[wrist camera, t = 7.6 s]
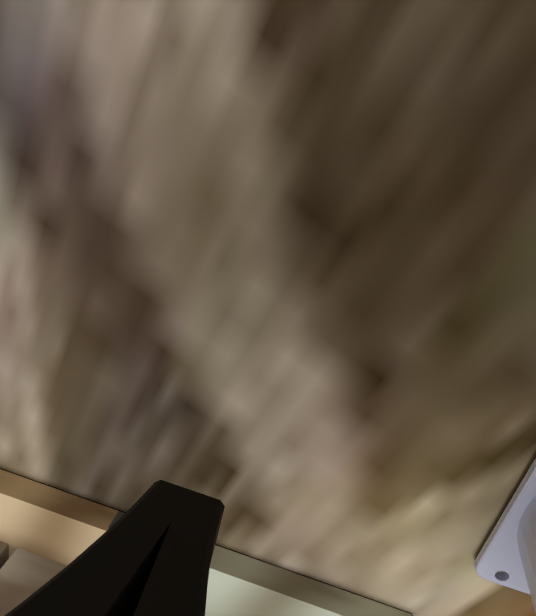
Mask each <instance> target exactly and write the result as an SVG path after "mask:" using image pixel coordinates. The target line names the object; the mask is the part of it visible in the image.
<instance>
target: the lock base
mask: <svg viewBox="0 0 536 616" xmlns="http://www.w3.org/2000/svg"><path fill="white" fill-rule="evenodd" d="M124 514H125V513H123V512H120V511H117V510H115V509H112V508H109V507H106V506H103V505H100V504H98V503H95V502H92V501H89V500H86V499H83V498H81V497H78V496H75V495H72V494H69V493H66V492H64V491H61V490H58V489H55V488H52V487H49V486H47V485H44V484H41V483H38V482H35V481H32V480H30V479H27V478H24V477H21V476H18V475H15V474H13V473H10V472H7V471H4V470H1V469H0V616H5V615H6V614H7V613H9V612H10V611H11V610H13V609H14V608H15V607H17V606H18V605H19V604H20V603H22V602H23V601H24V600H25V599H27V598H28V597H29V596H30V595H32V594H33V593H34V592H35V591H37V590H38V589H39V588H40V587H42V586H43V585H44V584H45V583H47V582H48V581H49V580H50V579H52V578H53V577H54V576H55V575H57V574H58V573H59V572H60V571H62V570H63V569H64V568H65V567H66V566H68V565H69V564H70V563H71V562H72V561H73V560H75V559H76V558H77V557H78V556H79V555H80V554H81V553H82V552H84V551H85V550H86V549H87V548H88V547H89V546H90V545H91V544H93V543H94V542H95V541H96V540H97V539H98V538H99V537H100V536H102V535H103V534H104V533H105V532H106V531H107V530H108V529H109V528H110V527H111V526H112V525H113V524H114V523H116V522H117V521H118V520H119V519H120V518H121V517H122V516H123V515H124ZM205 616H412V614H409V613H406V612H404V611H401V610H398V609H395V608H392V607H389V606H387V605H384V604H381V603H378V602H375V601H372V600H370V599H367V598H364V597H361V596H358V595H355V594H353V593H350V592H347V591H344V590H341V589H338V588H336V587H333V586H330V585H327V584H324V583H321V582H319V581H316V580H313V579H310V578H307V577H304V576H302V575H299V574H296V573H293V572H290V571H287V570H285V569H282V568H279V567H276V566H273V565H270V564H268V563H265V562H262V561H259V560H256V559H253V558H251V557H248V556H245V555H242V554H239V553H236V552H234V551H231V550H228V549H225V548H222V547H219V546H217V545H215V547H214V551H213V555H212V559H211V563H210V569H209V578H208V586H207V598H206V610H205Z"/></svg>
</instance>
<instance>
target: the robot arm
mask: <svg viewBox="0 0 536 616" xmlns="http://www.w3.org/2000/svg"><path fill="white" fill-rule="evenodd" d="M224 507H225V506H224V505H223V503H222V502H221V500H218V499H215V498H212V497H209V496H207V495H204V494H201V493H198V492H195V491H192V490H189V489H186V488H183V487H180V486H177V485H174V484H172V483H169V482H166V481H163V480H159V481H157V482H155V483H154V484H153V485H152V486H151V487H150V488H149V489H148V490H147V491H146V493H145V494H144V495H143V496H142V497H141V498H140V499H139V500H138V501H137V502H136V503H135V504H134V505H133V506H132V507H131V508H130V509H129V510H128V511H127V512H126V513H125V514H124V515H123V516H122V517H121V518H120V519H119V520H118V521H117V522H116V523H114V524H113V525H112V526H111V527H110V528H109V529H108V530H107V531H106V532H105V533H104V534H103V535H102V536H100V537H99V538H98V539H97V540H96V541H95V542H94V543H93V544H91V545H90V546H89V547H88V548H87V549H86V550H85V551H84V552H82V553H81V554H80V555H79V556H78V557H77V558H76V559H75V560H73V561H72V562H71V563H70V564H69V565H68V566H66V567H65V568H64V569H63V570H62V571H60V572H59V573H58V574H57V575H55V576H54V577H53V578H52V579H50V580H49V581H48V582H47V583H45V584H44V585H43V586H42V587H40V588H39V589H38V590H37V591H35V592H34V593H33V594H32V595H30V596H29V597H28V598H27V599H25V600H24V601H23V602H22V603H20V604H19V605H18V606H17V607H15V608H14V609H13V610H11V611H10V612H9V613H7V614H6V615H5V616H205V610H206V598H207V586H208V578H209V569H210V563H211V559H212V555H213V551H214V547H215V543H216V539H217V535H218V531H219V527H220V523H221V519H222V515H223V511H224ZM474 565H475V570H476V573H477V574H478V576H479V577H481V578H483V579H486V580H489V581H492V582H495V583H498V584H500V585H503V586H506V587H509V588H512V589H515V590H518V591H521V592H524V593H527V594H530V595H531V598H532V602H533V606H534V609H535V613H536V458H535V460H534V461H533V463H532V465H531V467H530V468H529V470H528V472H527V473H526V475H525V477H524V478H523V480H522V482H521V483H520V485H519V487H518V488H517V490H516V492H515V494H514V495H513V497H512V499H511V500H510V502H509V504H508V505H507V507H506V509H505V510H504V512H503V514H502V516H501V517H500V519H499V521H498V522H497V524H496V526H495V527H494V529H493V531H492V532H491V534H490V536H489V537H488V539H487V541H486V543H485V544H484V546H483V548H482V549H481V551H480V553H479V554H478V556H477V558H476V559H475V563H474ZM499 571H505V572H499Z"/></svg>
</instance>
